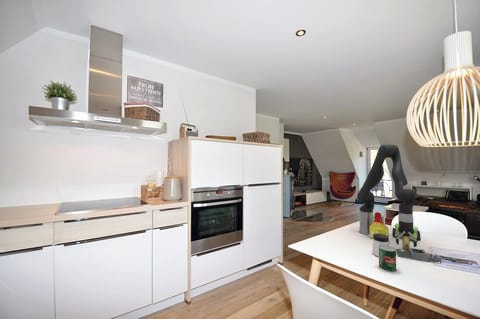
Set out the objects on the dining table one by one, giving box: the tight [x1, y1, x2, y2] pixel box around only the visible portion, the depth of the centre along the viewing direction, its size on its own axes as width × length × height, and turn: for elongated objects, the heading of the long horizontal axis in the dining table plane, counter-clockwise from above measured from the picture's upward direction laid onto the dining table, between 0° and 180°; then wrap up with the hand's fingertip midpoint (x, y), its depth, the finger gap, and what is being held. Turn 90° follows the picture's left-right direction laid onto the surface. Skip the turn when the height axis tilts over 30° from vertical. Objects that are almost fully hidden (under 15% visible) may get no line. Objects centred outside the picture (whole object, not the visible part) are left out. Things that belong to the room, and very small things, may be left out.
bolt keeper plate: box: [395, 247, 443, 264], centre depth 128 cm, size 20×8×4 cm, turn 63°
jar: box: [372, 234, 390, 258], centre depth 132 cm, size 9×8×12 cm
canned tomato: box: [378, 245, 397, 273], centre depth 117 cm, size 8×8×11 cm
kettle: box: [392, 222, 419, 241], centre depth 159 cm, size 15×14×11 cm
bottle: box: [369, 211, 390, 239], centre depth 157 cm, size 12×6×20 cm, turn 44°
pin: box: [401, 236, 411, 250], centre depth 137 cm, size 4×4×10 cm
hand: (406, 245), depth 137 cm, fingers open, 8 cm apart
